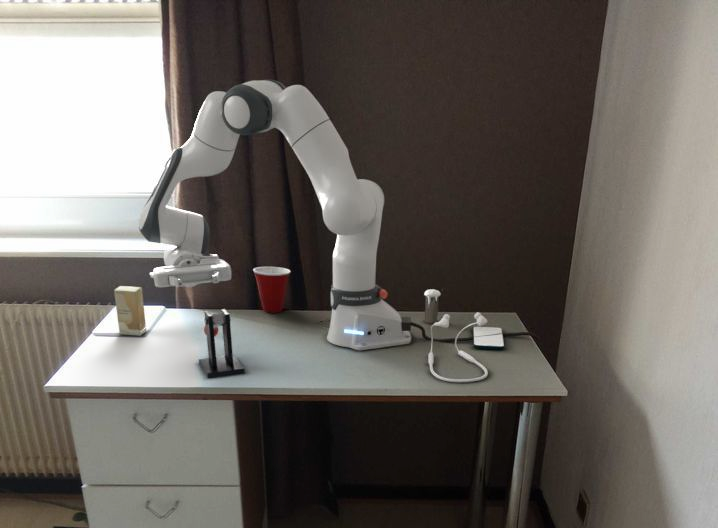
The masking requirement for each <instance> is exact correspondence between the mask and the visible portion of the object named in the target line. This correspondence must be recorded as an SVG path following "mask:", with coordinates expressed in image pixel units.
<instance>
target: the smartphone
mask: <svg viewBox="0 0 718 528" xmlns="http://www.w3.org/2000/svg"><path fill="white" fill-rule="evenodd" d="M500 333H503V328H502V327H496V326H495V327H493V326H492V327H491V326H473V327H472V337H474V338H473V340H472V342H473V346H472V347H474V348H475V349H489V350H504V349H505V341H504V336H503V334H500ZM493 334H498V335H493ZM485 335H490V336H485ZM476 336H480V337H476Z"/></svg>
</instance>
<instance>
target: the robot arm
mask: <svg viewBox="0 0 718 528" xmlns="http://www.w3.org/2000/svg"><path fill="white" fill-rule="evenodd" d="M197 114H198V115H197V118H196V120H195V122H194V127H193V129H192V132H191V136H190V137H189V139H188V140H187V141H186V142H185V143H184V144H183V145H182V146H181V147H176V148H174V150H173V151H172V152H171V154H170V156H169V157H168V159H167V161H166V163H165V165H164V166H163V169H162V171H161V173H160V175H159V177H158V179H157V181H156V184H155V186H154V187H153V190H152V192H151V194H150V196H149V198H148V200H147V201H146V203H145V205H144V206H143V208H142V210H141V213H140V214H139V219H138V230H139V232H140V233H141V235H142V236H143V238H144V239H145V240H146V241H147V242H150V243H157V244H165V245H167V247H166V248H165V250H164V253H163V263H164V265H165V266H159V267H155V268H153V270H152V271H151V272H149V277H150V278H152V279H153V282H154V286H155V287H156V288H168V287H176V288H182V287H185V288H193V287H195V286H197V285H200V284H205V283H206V284H207V283H212V284H219V283H220V282H227V281H230V280H232V268H231V265H230V264H229V263H228V262H226V261H225V260H224V259H222V258H220V257H219V255H218V254H216V253H215V254H213V253H207V251H208V247H209V243H210V238H211V231H210V227H209V223H208V221H207V220H206V218H205V217H204V215H202V214H199V213H196V212H192V211H189V210H184V209H179V208H175V207H172V206H168V204H169V202H170V200H171V198H172V195H173V194H174V192H175V190H176V187H177V186H178V184H179V183H181V182H182V181H184V180H186V179H187V180H188V179H192V178H201V177H202V178H203V177H213V176H217V175H219V174H221V173H222V172H224V171H225V170H226V169H228V167H229V166H230V165H231V162H232V160H233V157H234V154H235V151H236V149H237V144H238V142H239V139H240V137H241V136H251V135H255V134H258V133H266V132H269V131H271V130H272V129H274V128H275V129H277V130H278V131H280V132H281V133H282V134H283V136H284V138H285V139H286V140H287V142H288V144H289V146H290V148H291V149H292V151H293V152H294V154H295V155H296V157H297V159H298V160H299V163H300V164H301V165H302V167H303V169H304V170H305V172H306V174H307V175H308V178H309V179H310V182H311V184H312V186H313V189H314V191H315V194H316V196H317V199H318V202H319V204H320V207H321V210H322V220H323V223H324V224H325V226H326V227H327V230H329V231H330V232H332V233H333V234H335V235H336V240H335V246H334V249H333V252H332V284H331V286H330V307H331V316H330V322H329V328H328V332H327V336H326V340H327V341H328V342H329V343H330V344H332V345H335V346H339V347H344V348H350V349H352V350H355V351H369V350H374V349H382V348H387V347H396V346H402V345H409V344H410V343H411V342H412V334H411V333H410V332H411V331H412V330H411V329H412V327H415V328H418V329H419V330H420V331H421V335H422V338H423V339H425V340H426V341H431V342H432V337H429V336H428V335H426V330H425V327H424V326H422V325H420V324H419V323H416V322H413V321H412V319H411V317H410V316H401V314H400V313H399V312H398V311H397V310H396V309H395V308H394V307H393V306H391V305H390V304H389V303H388V302H386V301H385V300H384V299H387V298H388V295H389V294H388V293H389V292H387V290H386V289H384V288H382V287H381V286H379V285H378V284H376V277H377V275H376V273H377V254H378V253H377V252H378V245H379V241H380V234H381V228H382V227H381V226H382V217H383V210H384V206H385V194H384V192H383V189H382V188H381V187H380V185H379V184H378V183H376V182H374V181H372V180H369V179H365V178H361V179H360V178H359V179H358V178H357V175H356V172H355V170H354V168H353V165H352V162H351V159H350V153H349V149H348V147H347V146H346V144H345V142H344V141H343V139H342V137H341V135H340V134H339V132H338V131H337V129H336V127H335V125H334V123H333V122H332V120H330V117H329V116H328V114H327V112H326V111H325V109H324V108H323V106H322V104H320V102H319V101H318V100H317V98H315V96H314V94H312V93H311V91H310V90H309V89H308V88H307V87H306V86H304V85H301V84H293V85H290V86H287V87H286V86H285V84H283V83H282V82H280V81H278V80H275V79H270V78H269V79H268V78H267V79H263V80H262V79H260V80H255V79H254V80H249V81H245V82H244V83H243V82H242V83H241V84H236V85H234V86H232V87H231V88H229V89H228V90H227V91H223V90H222V91H221V90H219V91H218V90H217V91H212V92H210V93H209V94H208V95H207V96H206V98H205V99H204V101H203V103H202V105H201V108H200V109H199V112H198V113H197ZM500 334H503V337H520V336H529V337H531V338H534V339H535V340H536V341H541V340H542V339H541V338H540V337H539V336H538V335H537V334H535V333H533V332H530V331H520V332H519V331H518V332H502V333H500ZM493 335H498V334H493ZM485 336H490V335H485ZM476 337H480V336H476ZM473 338H474V337H473V336H469V337H458V338H457V341H456V342H470V341H473ZM455 340H456V337H451V338H440V339H439V338H436V339H435V338H433V342H439V343H452V342H454V343H455Z"/></svg>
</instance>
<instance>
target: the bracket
mask: <svg viewBox="0 0 718 528" xmlns="http://www.w3.org/2000/svg"><path fill="white" fill-rule="evenodd" d="M203 313H204V318H203V320H204V321H203V322H204V326H205V325H206V334H205V336H206V343H207V352H208V353H207V355H208V357H206V358H198V365H199V366H200V368H201V369H202V371H203V373H204V374H205V376H206V377H207V379H211V378H212V379H213V378H219V377H225V376H232V375H240V374H245V373H246V371H245V367H244V366H243V365H242V363H241V362H240V360H239V359H238V358H237V357H236V355H235V354H234V353H233V341H232V331H231V330H232V329H231V328H232V327H231V320H232V319H231V316H230V313H229V312H228V311H227V309H226V308H223V309H222V308H221V309H220V313H222V316H223V321H224V324H223V325H222V326H221V327H222V338H223V340H222V341H223V351H224V352H223V353H224V355H222V356H217V351H216V340H215V337H214V327H213V316H212V315H213V314H212V313H211V312H210V310H204V312H203Z"/></svg>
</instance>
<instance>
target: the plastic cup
mask: <svg viewBox="0 0 718 528" xmlns="http://www.w3.org/2000/svg"><path fill="white" fill-rule="evenodd" d="M252 271H253V273H254V277H255V279H256V280H255V281H256V284H257V289H258V294H259V299H260V302H261V306H262V310H263V311H264V312H266V313H280V312H282V311H284V304H285V298H286V290H287V284H288V283H287V282H288V279H289V276H290V273H291V270H290V269H288V268H285V267H281V266H280V267H279V266H258V267H254V268H253V269H252Z"/></svg>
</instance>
